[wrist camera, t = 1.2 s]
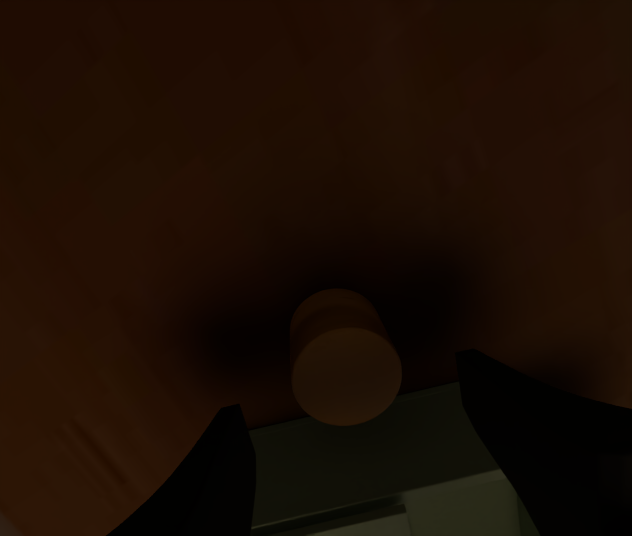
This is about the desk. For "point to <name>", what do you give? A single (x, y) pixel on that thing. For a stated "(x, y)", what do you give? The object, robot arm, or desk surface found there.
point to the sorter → (385, 475)
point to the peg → (342, 358)
